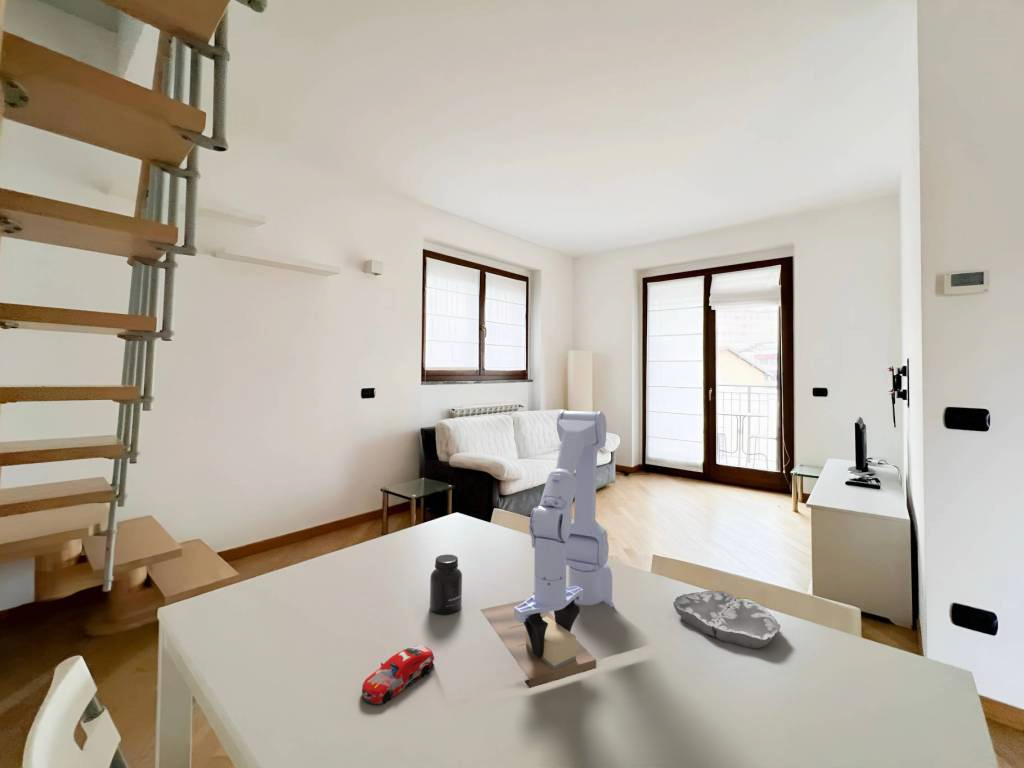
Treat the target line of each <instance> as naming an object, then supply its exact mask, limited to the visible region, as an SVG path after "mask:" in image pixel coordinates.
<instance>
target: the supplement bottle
mask: <svg viewBox="0 0 1024 768" xmlns="http://www.w3.org/2000/svg"><path fill="white" fill-rule="evenodd" d="M458 558H459V557H457V555H454V554H442V555H439V556H436V558H435V562H434V563H435V564H434V568H435V569H434V570H433V571H432V572H431V574H430V579H429V580H430V582H429V583H430V585H429V588H430V589H429V611H430V612H431V613H432V614H435V615H437V616H450V615H453V614H454V615H455V614H456V613H458V612H459V611H461V609H462V608H463V607H462V606H463V605H462V603H463V601H462V600H463V599H462V598H463V596H462V595H463V574H462V571H461V569H459V568H458V567H459V560H458Z"/></svg>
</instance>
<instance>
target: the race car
mask: <svg viewBox="0 0 1024 768" xmlns="http://www.w3.org/2000/svg"><path fill="white" fill-rule="evenodd" d="M434 660H435V656H434V652H433V650H432V649H430V648H428V647H426V646H424V645H421V644H420V645H414V646H410V647H407V648H405V649H403V650H401V651H399V652H397V653H395V654H394V655H392V656H391V657H389V659H387V660H386V661H385V662H384V663H383V662H380V667H379V668H378V669H377V670H376V671H374V672H373V673H372V674H370V675H369V676H368V677H367V678H365V679H364V681H363V683H362V685H361V686H362V687H361V697H362V699H363V700H364V701H365V702H367V703H369V704H371V705H372V704H374V705H380V704H386V703H388V702H389V701H391V700H392V698H393V697H395V696H397V695H398V694H399V693H401V692H403V691H404V690H406V689H407V688H408V687H409V686H411V685H412V684H414V683H416V682H417V681H419V680H420V679H421V678H424V677H425V676H427V675H428V674H429V672H431V670H432V669H433V667H434V666H435V664H434V662H433V661H434Z"/></svg>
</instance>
